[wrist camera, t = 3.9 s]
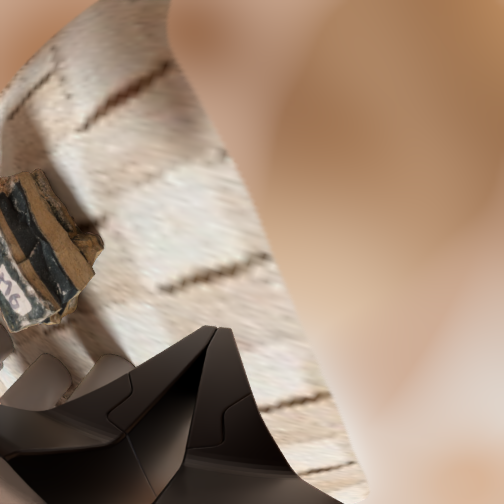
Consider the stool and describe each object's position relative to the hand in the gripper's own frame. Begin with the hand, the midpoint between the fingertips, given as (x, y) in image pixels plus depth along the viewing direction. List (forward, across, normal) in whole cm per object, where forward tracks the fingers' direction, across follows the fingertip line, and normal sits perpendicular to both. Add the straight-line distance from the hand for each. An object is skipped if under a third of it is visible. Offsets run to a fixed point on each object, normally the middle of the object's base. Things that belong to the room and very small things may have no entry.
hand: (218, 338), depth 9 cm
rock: (+6, +13, 0) cm, 14 cm away
